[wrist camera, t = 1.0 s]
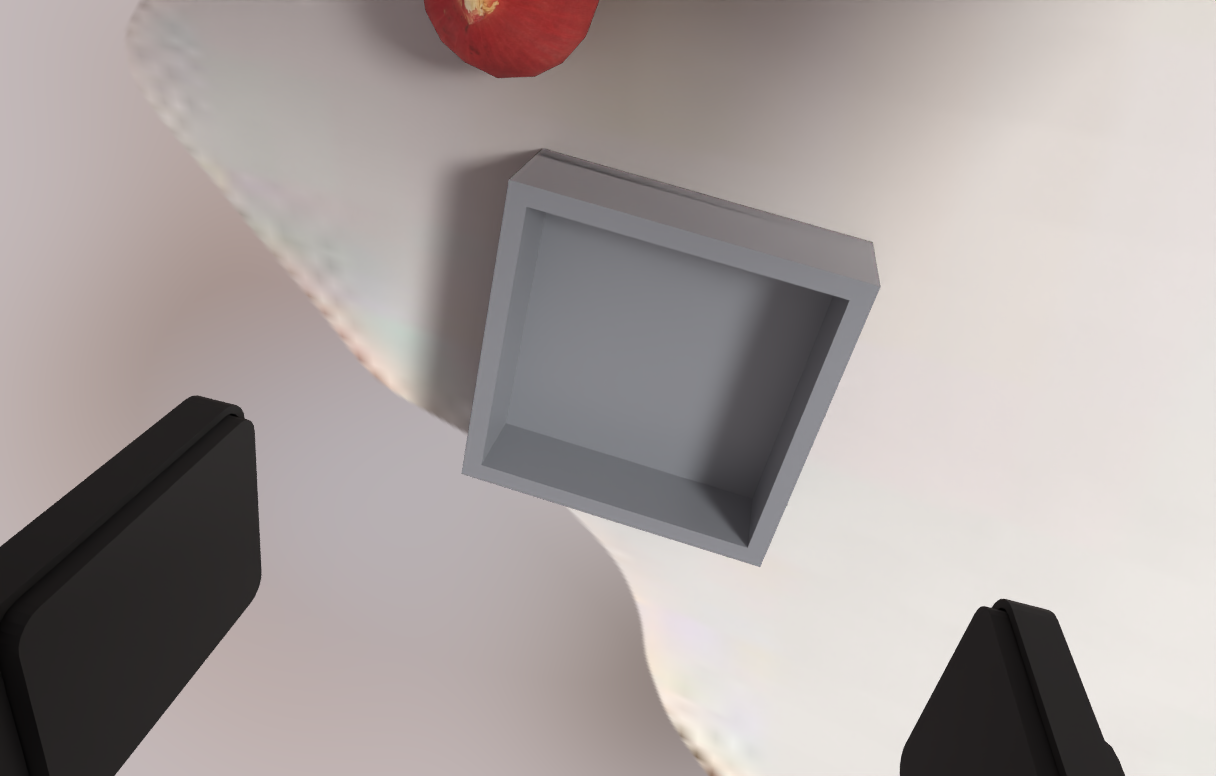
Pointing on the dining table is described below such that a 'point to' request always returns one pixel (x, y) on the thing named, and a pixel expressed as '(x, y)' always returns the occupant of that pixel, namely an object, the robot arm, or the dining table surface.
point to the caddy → (660, 352)
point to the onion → (511, 32)
